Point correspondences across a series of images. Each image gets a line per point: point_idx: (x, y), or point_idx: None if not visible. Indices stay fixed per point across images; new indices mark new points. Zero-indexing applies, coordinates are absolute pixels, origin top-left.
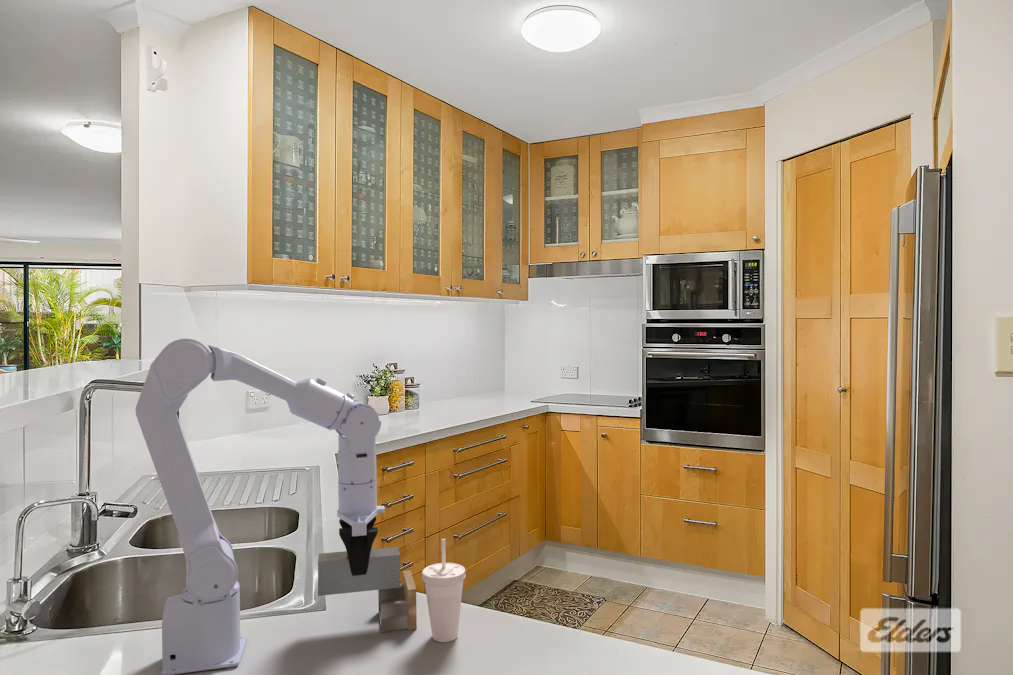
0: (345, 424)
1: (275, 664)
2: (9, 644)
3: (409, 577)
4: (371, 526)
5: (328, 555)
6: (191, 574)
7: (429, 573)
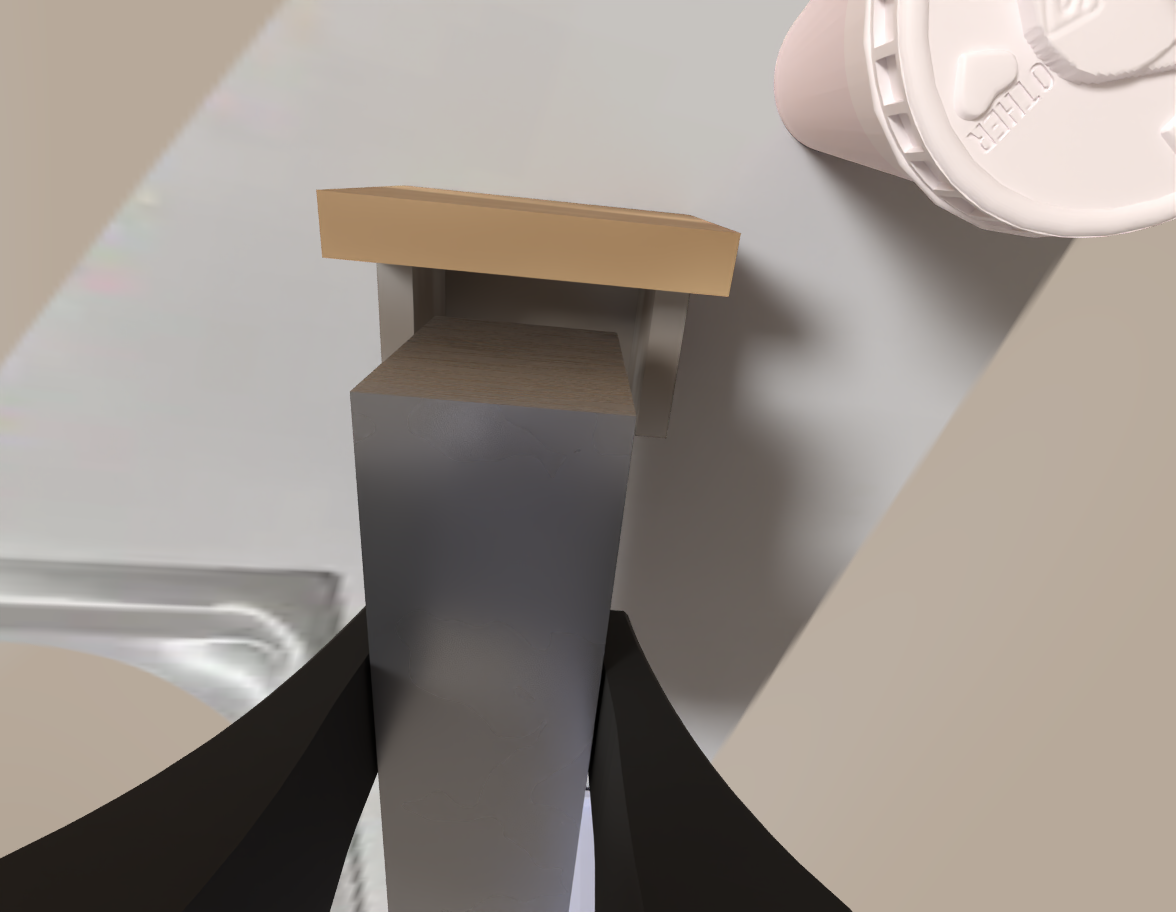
0: None
1: (728, 718)
2: None
3: (486, 235)
4: (240, 857)
5: (450, 886)
6: None
7: (1121, 160)
